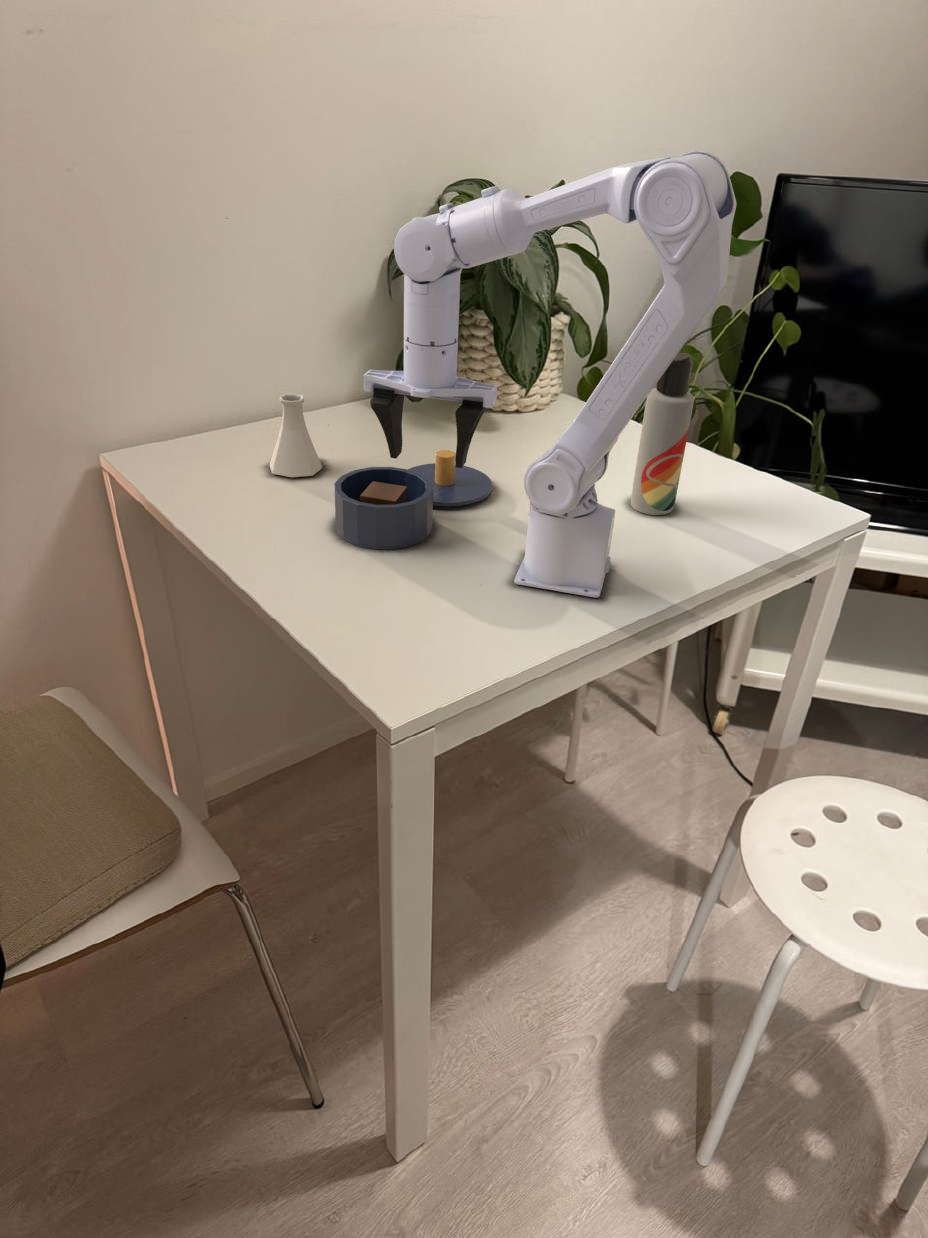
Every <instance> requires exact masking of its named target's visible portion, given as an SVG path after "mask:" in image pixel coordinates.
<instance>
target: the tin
mask: <svg viewBox="0 0 928 1238" xmlns="http://www.w3.org/2000/svg"><path fill="white" fill-rule="evenodd" d="M408 469H409V468H403V467H402V468H401V467H395V466H369V467H363V468H359V469H354V470H352V471H349V472H347V473H344V474H341V476H340V477H339V478H338V479H336V480H335V482H334V484H333V486H334V514H335V530H336V533H337V534H338V536H339V537H340V538H341V539H343V540H344V541H345V542H346V543H347V542H348V543H349V544H350V545H351V544H352V545H354V546H356V547H360V548H365V549H372V550H398V549H404V548H408V547H412V546H414V545H418V544H419V543H421V542H423V541H425V540H426V539H427V538H428V537H429V536H430V534H431V532H432V528H433V519H434V518H433V517H434V516H433V513H434V505H433V486H432V482H431V481H430V480H428V479H427V478H426V477H425V476H423V475H422V474H419V473H417V472H414V471H411V470H408ZM373 481H374V482H380V483H387V484H393V485H400V486H406V487H407V502H406V503H401V504H396V505H375V504H369V503H363V502H360V495H361V494H362V493H363V492H364V491H365V490H366V489H367V487H368V486H369V485H370V484H371V483H372V482H373Z"/></svg>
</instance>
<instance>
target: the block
mask: <svg viewBox="0 0 928 1238" xmlns="http://www.w3.org/2000/svg"><path fill="white" fill-rule="evenodd" d="M360 502H363V503H369V504H375V505H396V504H401V503H406V502H407V487H406V486H400V485H393V484H387V483H380V482H374V481H373V482H372V483H371V484H370V485H369V486H368V487H367V489H366V490H365V491H364V492H363V493H362V494H361V495H360Z"/></svg>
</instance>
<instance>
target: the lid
mask: <svg viewBox="0 0 928 1238" xmlns="http://www.w3.org/2000/svg"><path fill="white" fill-rule="evenodd" d="M455 458H456V452H455V451H454V450H450V449H440V450H437V451H436V452H435V462H434V463H426V464H420V465H415V466H412V467H410V468H407V469H408V470H411V471H414V472H417V473H419V474H422V475H423V476H425V477H426V478H427V479H428V480H430V481H431V482H432V486H433V506H438V507H456V506H458V507H459V506H465V505H470V504H475V503H477V502H480V501H482V500H484V499H485V498H487V497H488V496H489V495H490V494H491V492H492V490H493V482H492V480H491V478H490V477H489V476H488V475H487V474H485V473H484V472H483V471H480V470H478V469H476V468H473V467H471V466H467V465H464V466H463V467H462V468H457V467H456V464H455Z"/></svg>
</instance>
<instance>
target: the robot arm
mask: <svg viewBox="0 0 928 1238" xmlns="http://www.w3.org/2000/svg"><path fill="white" fill-rule="evenodd" d="M480 193H481V197H479V198H476V199H473V200H470V201H467V202H464V203H461V204H459V205H454V203H452V202H449V203H445V204H443V205H440V206H439V208H438V209H439V213H435V214H430V215H426V216H418V217H413V218H412V219H411V220H410V221H409V222H407V223H405V224H404V225H403V226H401V227H400V229H399V230H398V231H397V234H396V236H395V239H394V243H393V252H394V257H395V258H394V259H395V262H396V264H397V266H398V268H399V270H400V271H401V272H402V273H403V275H404V277H403V278H404V279H403V370H379V369H378V370H377V369H368V370H367V371H366V372H365V373H364V374H363V392H365V393H373V394H372V398H370V400H369V404H370V408H371V409H372V411H373V412H374V414H375V416H376V417H377V420H378V421H379V424H380V426H381V428H382V431H383V433H384V436H385V437H384V438H385V440H386V443H387V448H388V453H389V457H390V459H398V457H400V455H401V454H402V452H403V412H404V402H405V396H410V397H414V398H421V399H423V398H424V399H433V400H442V401H449V402H457V403H461V405H459V406H458V407H457V409H456V410H455V412H454V413H455V415H454V416H455V424H456V447H455V448H456V449H455V451H456V452H455V454H456V458H455V464H456V467H457V468H462V467H463V466H465V464H466V463H467V459H468V453H469V450H470V446H471V443H472V439H473V436H474V434H475V432H476V429H477V427H478V426H479V423H480V421H481V419H482V417H483V415H484V413H485V411H486V410H487V409H493V408H494V407H495V406H496V404H497V399H498V398H497V397H498V385H496V384H495V385H494V384H488V383H484V382H480V381H476V380H473V379H468V378H465V377H460V376H458V353H459V352H458V351H459V350H458V349H459V326H460V325H459V321H460V301H461V300H460V297H461V295H460V294H461V273H462V271H463V269H472V268H474V267H477V266H480V265H484V264H488V263H491V262H494V261H498V260H500V259H504V258H508V257H510V256H514V255H518V254H521V253H523V252H525V251H526V250H527V249H528V247H529V245H530V243H531V241H532V239H533V237H534V235H535V234H536V233H539V232H542V231H546V230H549V229H553V228H557V227H560V226H563V225H567V224H571V223H575V222H578V221H582V220H586V219H589V218H594V217H598V216H601V215H609V216H611V217H613V218H614V219H616V220H618V221H620V222H622V223H624V224H626V225H627V224H630V223H632V222H635V221H637V223H638V225H639V227H640V229H641V230H642V232H643V233H644V235H645V237H646V238H647V240H648V241H649V243H650V245H651V246H652V247H653V249H654V251H655V252H656V254H657V257H658V261H659V265H660V269H661V274H662V278H663V282H664V283H663V286H662V288H661V289H660V291H659V292H658V294H657V295H656V297H655V298H654V300H653V301H652V303H651V305H650V306H649V308H648V309H647V311H646V312H645V313H644V315H643V317H642V318H641V319H640V321H639V322H638V324H637V325H636V327H634V328H635V329H634V330H633V331H632V333H631V335H630V336H629V338H628V339H627V340H626V342H625V344H624V345H623V346H622V348H621V350H620V351H619V352H618V354H617V356H616V357H615V358H614V360H613V361H612V363H611V364H610V366H609V367H608V369H607V370H606V371H605V373H604V375H603V377H602V378H601V379H600V380H599V382H598V384H597V385H596V387H595V388H594V390H593V391H592V393H591V394H590V396H589V397H588V399H587V400H586V402H585V404H584V405H583V406H582V408H581V409H580V411H579V412H578V414H577V415H576V417H575V418H574V419H573V421H572V422H571V423H570V424H569V426H568V427H567V429H566V430H565V431H563V433H562V435H560V437H559V438H558V439H557V441H556V442H555V443H554V444H553V445H552V447H550V448H549V449H548V450H547V451H546V452H545V453H543V454H542V455H541V456H540V457H539V458H537V459H535V460H533V461H532V462H531V463H530V464H529V465H528V467H527V469H526V471H525V472H524V473H525V474H524V477H523V487H524V491H525V494H526V496H527V498H528V500H529V508H528V521H527V529H526V530H527V531H526V540H525V549H524V550H525V552H524V557H523V559H522V561H521V563H520V566H519V567H518V570H517V572H516V575H515V577H514V581H513V582H514V584H516V585H520V586H524V587H525V586H526V587H532V588H536V589H543V590H549V591H554V592H561V593H567V594H572V595H579V596H583V597H590V598H594V599H595V598H599V597H600V596H601V592H602V589H603V585H604V581H605V578H606V574H609V571H610V567H611V561H612V557H611V556H610V553H611V552H610V551H611V544H612V539H613V531H614V526H615V519H616V509H615V508H612V507H609V506H606V505H603V504H601V503H599V502H598V501H599V500H598V494H597V491H596V483H597V482H598V481H600V480H601V478H603V476H604V475H605V473H606V472H607V469H608V465H609V457H610V453H611V451H612V450H613V448H614V446H615V445H616V443H617V442H618V439H619V436H621V434H622V432H623V431H624V430H625V428H626V427H627V426H628V424H629V423H630V421H631V420H632V418H633V417H634V416H635V414H636V413H637V411H638V410H639V409H640V407H641V406H642V404H643V403H644V401H645V400H647V396H648V395H649V393H650V392H651V390H652V389H654V388H655V386H657V382H658V381H659V379H660V378H661V376H662V375H663V374H664V372H665V371H666V369H667V368H668V367H669V365H670V364H671V363H672V361H673V360H674V358H675V357H676V356H677V354H678V353H680V352H681V350H682V349H683V347H685V345H686V343H687V342H688V340H689V339H690V337H692V335H693V333H694V332H695V331H696V329H697V328H698V326H699V325H700V323H701V322H702V321H703V319H704V318H705V317H706V315H707V314H708V313H709V311H710V309H711V308H712V307H713V305H714V304H715V303H716V301H717V300H718V298H719V297H720V295H721V294H722V293H723V291H724V289H725V287H726V285H727V281H728V274H729V264H730V263H729V262H730V253H731V251H730V249H731V242H732V241H731V240H732V232H733V231H732V230H733V223H734V217H735V214H736V210H737V205H738V204H737V203H738V202H737V199H736V196H735V192H734V188H733V184H732V180H731V177H730V174H729V171H728V168H727V166H726V165H725V164H724V162H723V161H722V160H721V159H720V158H719V157H718V156H716V155H714V154H713V153H710V152H708V151H704V150H695V151H689V152H686V153H684V154H682V155H680V156H678V157H677V158H675V157H672V158H671V156H667V157H666V156H665V157H659V158H652V159H645V160H641V161H635V162H629V163H624V164H620V165H616V166H613V167H610V168H607V169H604V170H601V171H599V172H596V173H592V174H590V175H587V176H585V177H583V178H579V179H577V180H574V181H571V182H568V183H565V184H563V185H560V186H557V187H555V188H552V189H549V190H547V191H544V192H541V193H539V194H536V195H533V196H530V197H525V196H523V195H521V194H520V193H518V192H517V191H515V190H514V189H511V188H505V189H500V186H499V185H494V186H490V187H487V188H484V189H482V190H481V191H480Z"/></svg>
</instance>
